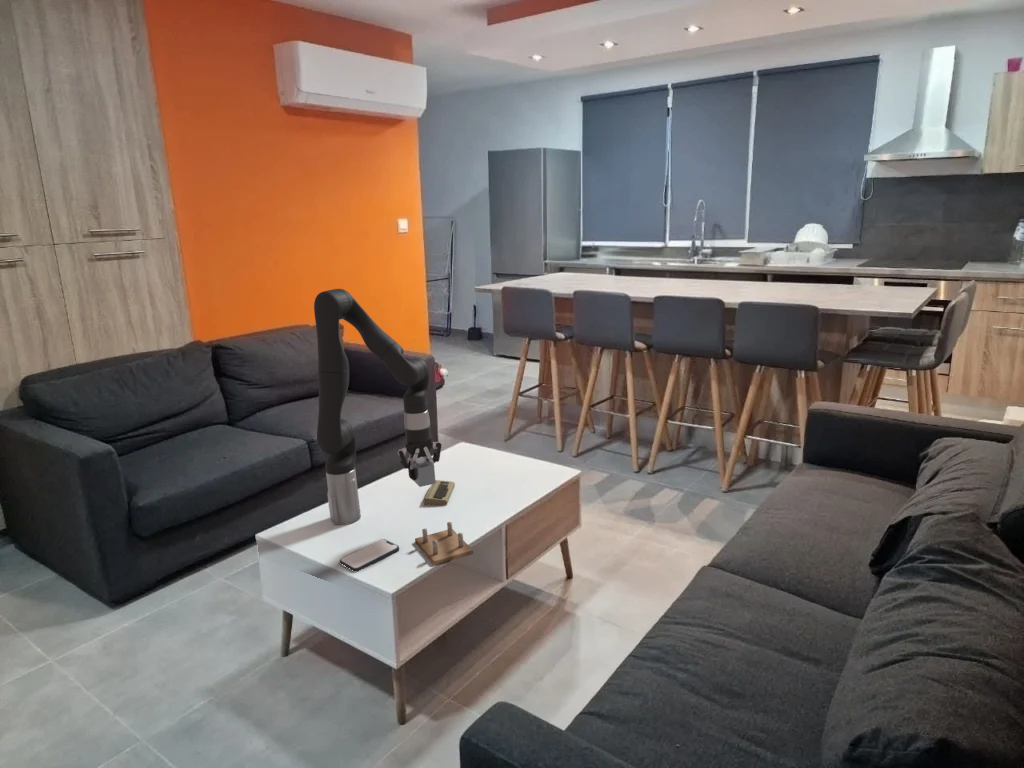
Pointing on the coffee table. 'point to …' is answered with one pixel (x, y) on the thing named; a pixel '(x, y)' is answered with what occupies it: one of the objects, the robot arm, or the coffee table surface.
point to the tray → (443, 545)
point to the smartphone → (369, 555)
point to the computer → (439, 493)
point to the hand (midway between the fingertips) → (421, 477)
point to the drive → (424, 472)
